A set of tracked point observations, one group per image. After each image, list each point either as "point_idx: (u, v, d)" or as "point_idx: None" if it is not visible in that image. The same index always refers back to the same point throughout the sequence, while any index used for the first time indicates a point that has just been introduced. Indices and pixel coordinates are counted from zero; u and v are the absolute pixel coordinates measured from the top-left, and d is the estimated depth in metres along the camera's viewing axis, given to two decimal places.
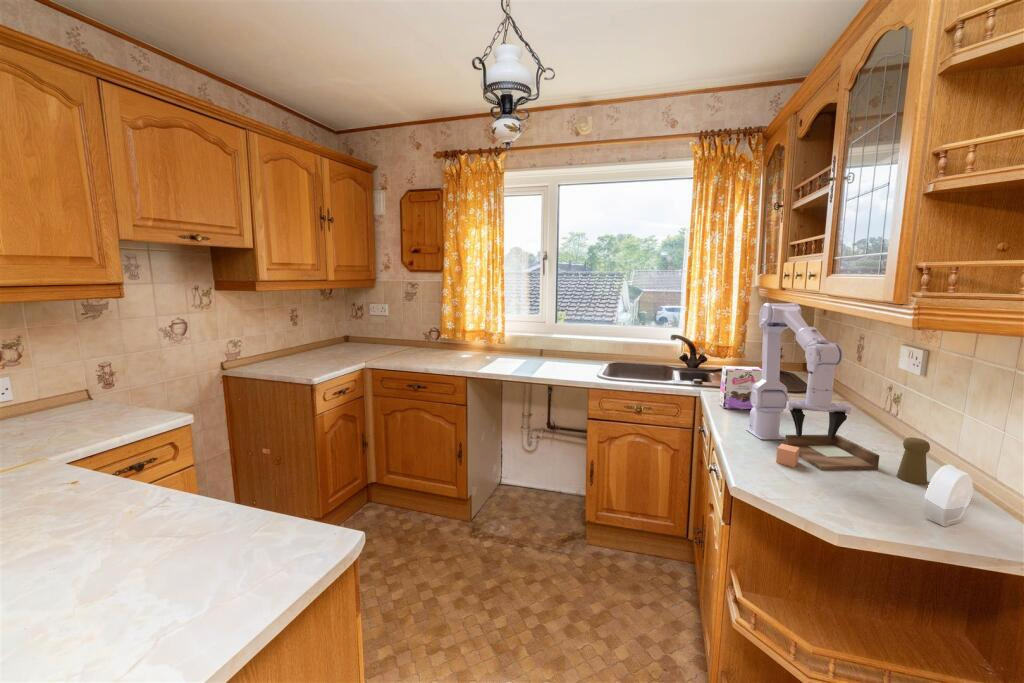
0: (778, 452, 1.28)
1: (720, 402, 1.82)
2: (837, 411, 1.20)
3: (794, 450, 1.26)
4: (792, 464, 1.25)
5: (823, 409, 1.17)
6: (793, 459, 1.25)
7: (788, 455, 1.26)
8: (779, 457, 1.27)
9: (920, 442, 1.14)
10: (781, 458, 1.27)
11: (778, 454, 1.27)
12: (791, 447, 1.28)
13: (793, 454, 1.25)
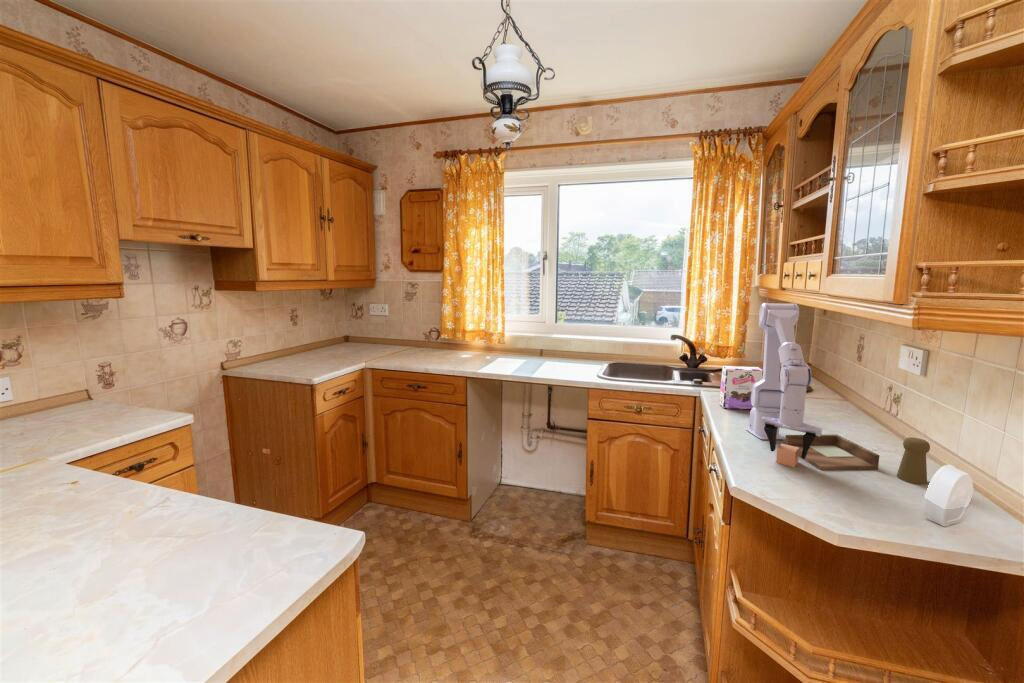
0: (778, 452, 1.28)
1: (720, 402, 1.82)
2: (808, 432, 1.23)
3: (794, 450, 1.26)
4: (792, 464, 1.25)
5: (786, 427, 1.24)
6: (793, 459, 1.25)
7: (788, 455, 1.26)
8: (779, 457, 1.27)
9: (920, 442, 1.14)
10: (781, 458, 1.27)
11: (778, 454, 1.27)
12: (791, 447, 1.28)
13: (793, 454, 1.25)
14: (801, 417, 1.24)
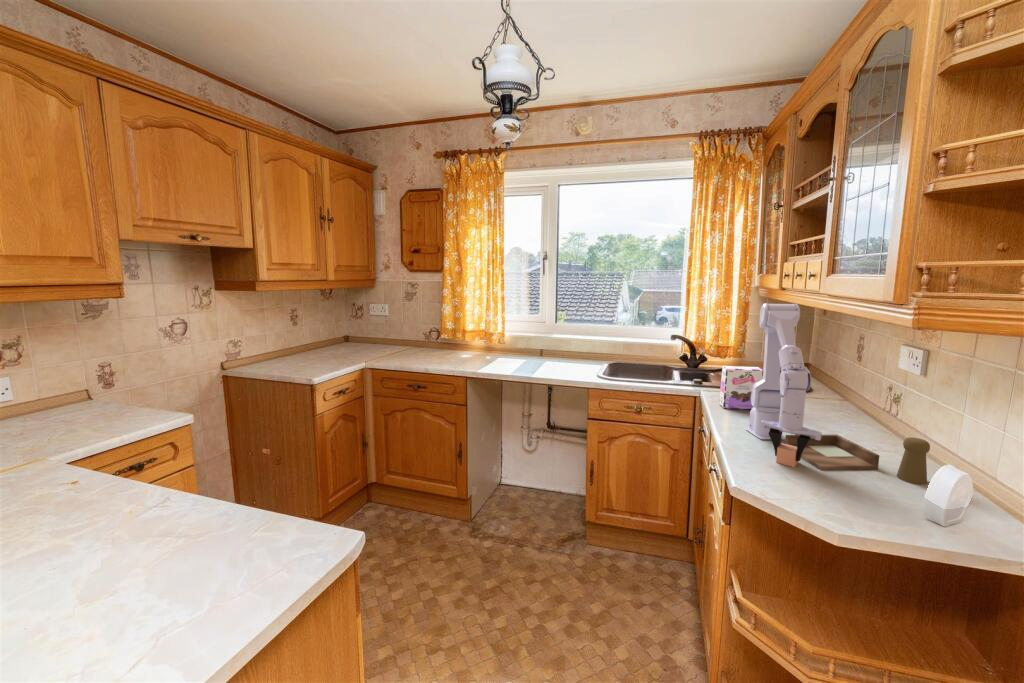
0: (778, 452, 1.27)
1: (720, 402, 1.82)
2: (807, 436, 1.23)
3: (794, 450, 1.26)
4: (792, 464, 1.25)
5: (786, 431, 1.24)
6: (793, 459, 1.25)
7: (788, 454, 1.26)
8: (780, 457, 1.27)
9: (920, 442, 1.14)
10: (781, 458, 1.27)
11: (779, 453, 1.27)
12: (791, 447, 1.28)
13: (793, 454, 1.25)
14: (801, 421, 1.24)
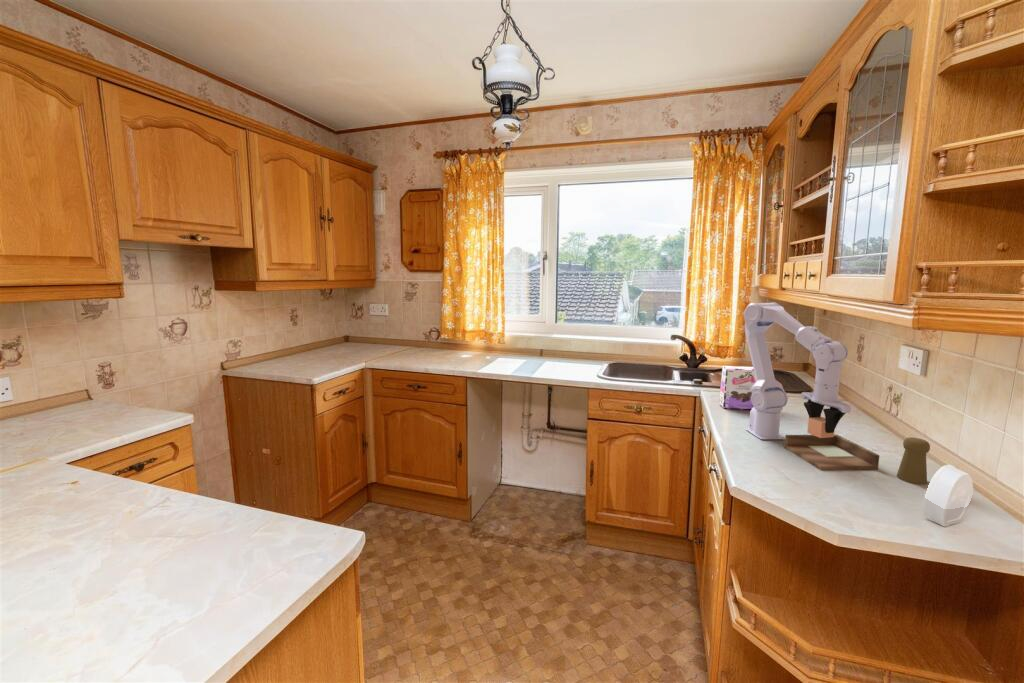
0: (809, 422, 1.32)
1: (720, 402, 1.82)
2: (836, 408, 1.25)
3: (823, 422, 1.28)
4: (819, 434, 1.29)
5: (812, 400, 1.29)
6: (820, 430, 1.28)
7: (816, 425, 1.29)
8: (810, 427, 1.32)
9: (920, 442, 1.14)
10: (811, 429, 1.31)
11: (809, 424, 1.32)
12: (825, 420, 1.30)
13: (820, 425, 1.28)
14: (830, 393, 1.26)
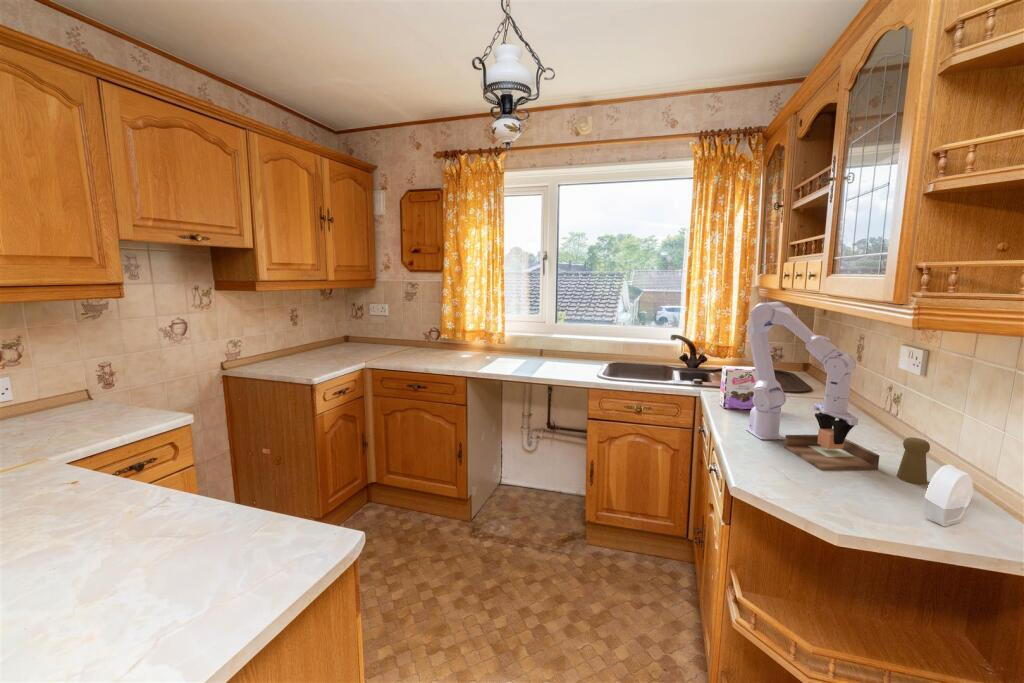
0: (819, 433, 1.34)
1: (720, 402, 1.82)
2: (844, 420, 1.27)
3: (832, 433, 1.31)
4: (827, 445, 1.31)
5: (821, 411, 1.31)
6: (828, 441, 1.31)
7: (825, 436, 1.32)
8: (819, 438, 1.34)
9: (920, 442, 1.14)
10: (820, 439, 1.33)
11: (819, 435, 1.34)
12: None
13: (828, 436, 1.30)
14: (839, 405, 1.28)
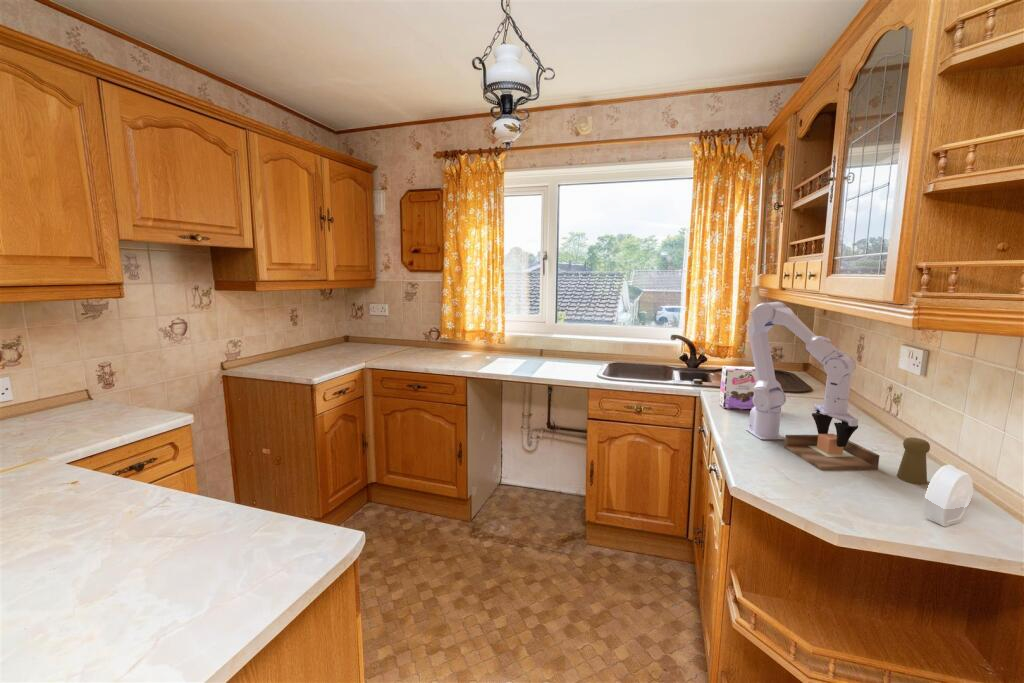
0: (818, 438, 1.34)
1: (720, 402, 1.82)
2: (844, 421, 1.27)
3: (832, 438, 1.31)
4: (826, 451, 1.31)
5: (821, 412, 1.31)
6: (827, 446, 1.31)
7: (825, 442, 1.32)
8: (819, 443, 1.34)
9: (920, 442, 1.14)
10: (820, 444, 1.34)
11: (818, 440, 1.34)
12: (835, 437, 1.32)
13: (827, 441, 1.31)
14: (839, 406, 1.28)
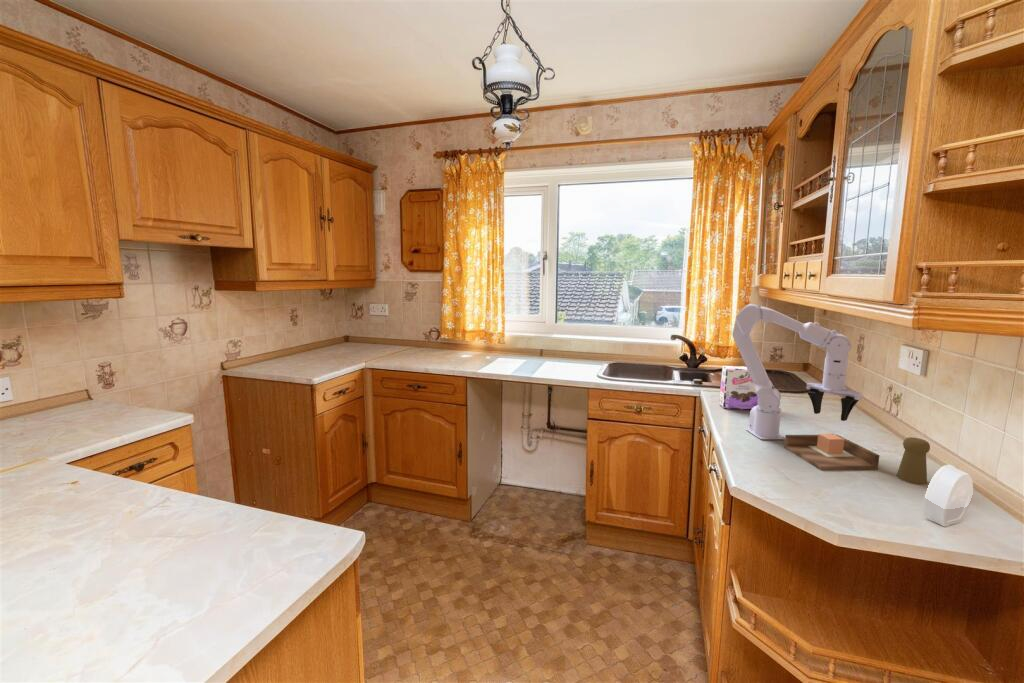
0: (818, 438, 1.34)
1: (720, 402, 1.82)
2: (848, 396, 1.34)
3: (832, 438, 1.31)
4: (826, 451, 1.31)
5: (825, 390, 1.36)
6: (827, 446, 1.31)
7: (825, 442, 1.32)
8: (819, 443, 1.34)
9: (920, 442, 1.14)
10: (820, 444, 1.34)
11: (818, 440, 1.34)
12: (835, 437, 1.32)
13: (827, 441, 1.31)
14: (841, 382, 1.34)
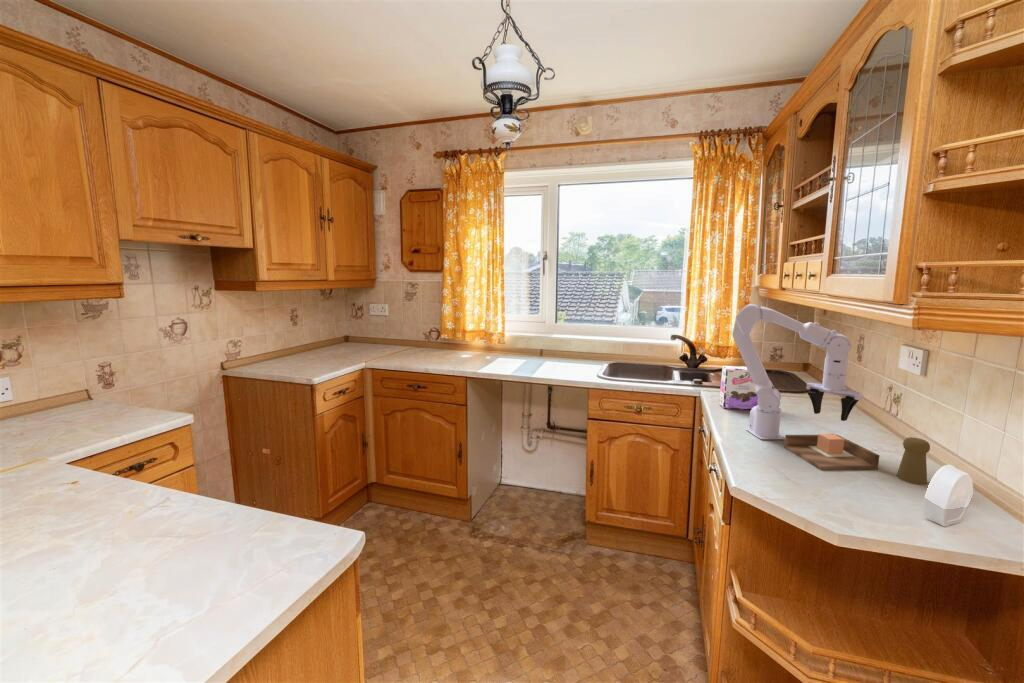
0: (818, 438, 1.34)
1: (720, 402, 1.82)
2: (848, 396, 1.34)
3: (832, 438, 1.31)
4: (826, 451, 1.31)
5: (825, 390, 1.36)
6: (827, 446, 1.31)
7: (825, 442, 1.32)
8: (819, 443, 1.34)
9: (920, 442, 1.14)
10: (820, 444, 1.34)
11: (818, 440, 1.34)
12: (835, 437, 1.32)
13: (827, 441, 1.31)
14: (841, 382, 1.34)
